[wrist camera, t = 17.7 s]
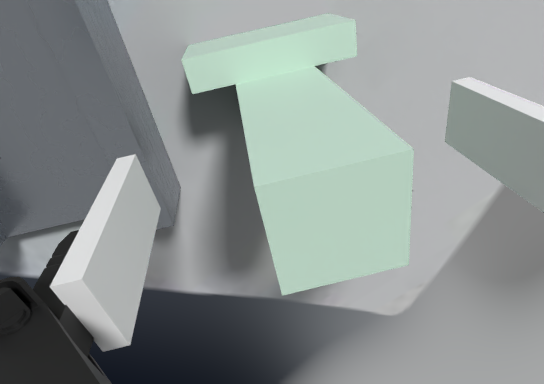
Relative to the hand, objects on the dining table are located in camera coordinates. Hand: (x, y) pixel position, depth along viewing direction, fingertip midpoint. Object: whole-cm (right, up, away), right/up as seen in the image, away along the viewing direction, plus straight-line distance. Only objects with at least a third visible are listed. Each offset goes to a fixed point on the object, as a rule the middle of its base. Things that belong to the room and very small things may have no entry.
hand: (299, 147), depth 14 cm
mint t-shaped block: (-1, +5, +10) cm, 11 cm away
